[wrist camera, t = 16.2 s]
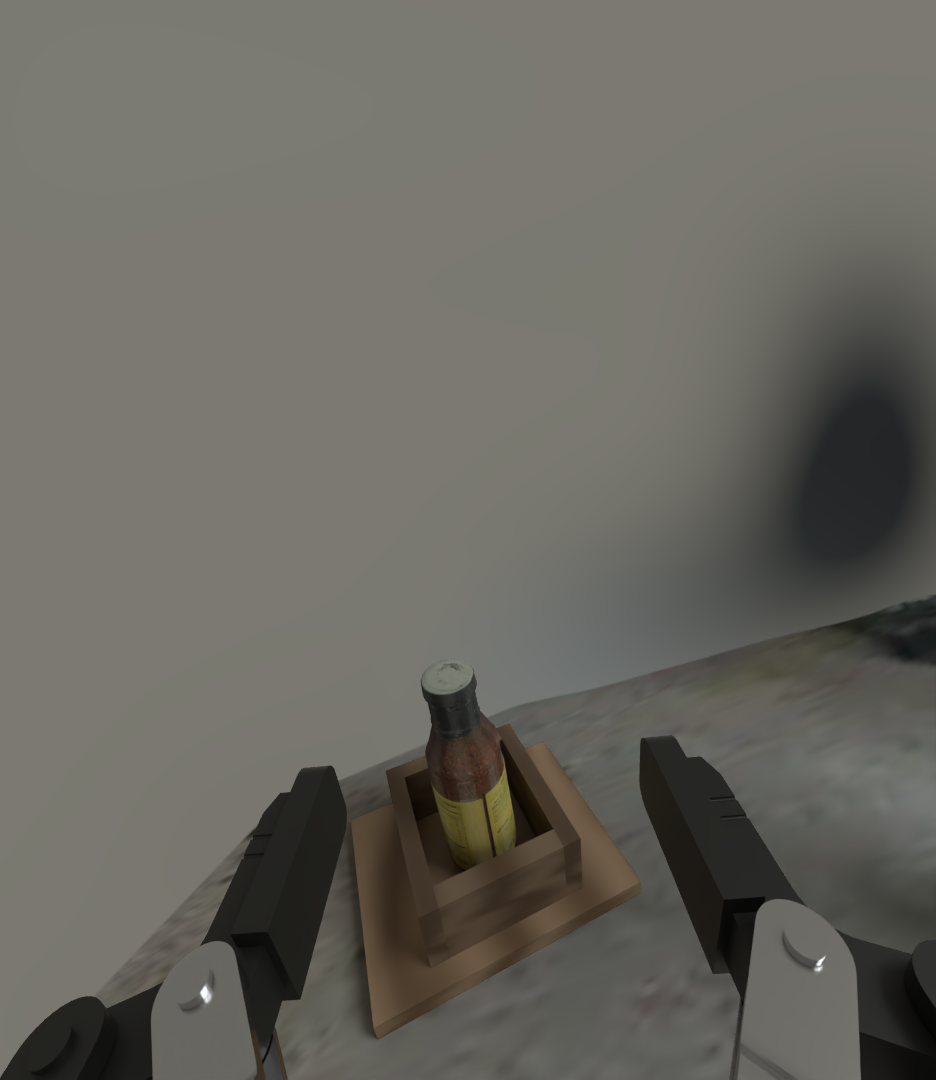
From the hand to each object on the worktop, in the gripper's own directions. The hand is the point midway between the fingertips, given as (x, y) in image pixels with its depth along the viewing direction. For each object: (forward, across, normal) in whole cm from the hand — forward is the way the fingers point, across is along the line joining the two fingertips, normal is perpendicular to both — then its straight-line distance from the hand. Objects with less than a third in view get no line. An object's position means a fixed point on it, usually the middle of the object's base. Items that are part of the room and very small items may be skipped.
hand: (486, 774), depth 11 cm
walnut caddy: (+18, +3, +32) cm, 37 cm away
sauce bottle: (+18, +3, +31) cm, 36 cm away
